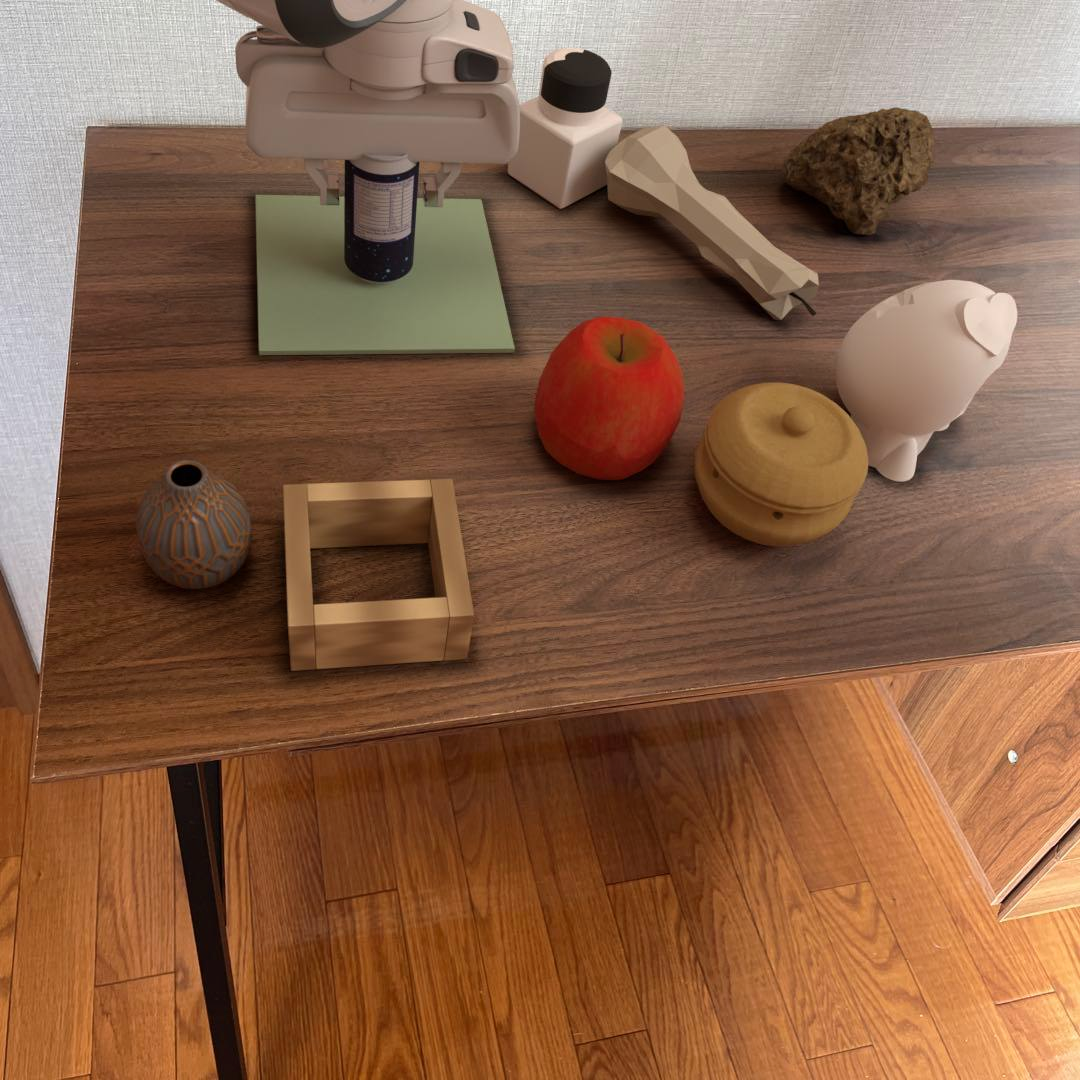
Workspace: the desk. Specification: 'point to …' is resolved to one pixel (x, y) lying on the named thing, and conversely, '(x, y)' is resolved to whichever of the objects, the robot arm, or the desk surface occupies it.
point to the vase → (193, 526)
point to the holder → (376, 625)
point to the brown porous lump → (863, 164)
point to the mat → (369, 309)
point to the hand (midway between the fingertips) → (381, 202)
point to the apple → (609, 398)
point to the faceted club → (704, 219)
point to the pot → (780, 463)
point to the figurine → (920, 365)
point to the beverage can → (380, 217)
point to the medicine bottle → (567, 129)
